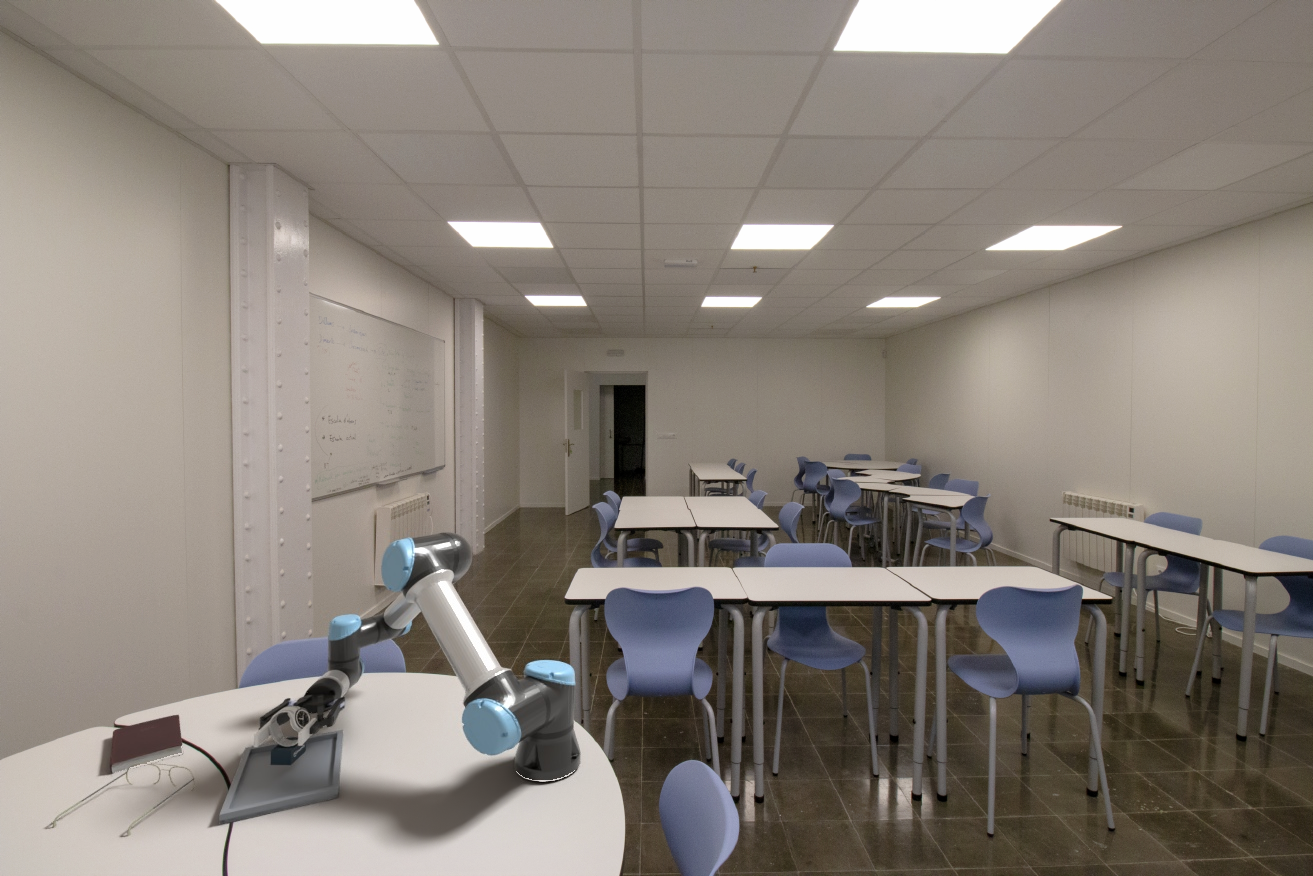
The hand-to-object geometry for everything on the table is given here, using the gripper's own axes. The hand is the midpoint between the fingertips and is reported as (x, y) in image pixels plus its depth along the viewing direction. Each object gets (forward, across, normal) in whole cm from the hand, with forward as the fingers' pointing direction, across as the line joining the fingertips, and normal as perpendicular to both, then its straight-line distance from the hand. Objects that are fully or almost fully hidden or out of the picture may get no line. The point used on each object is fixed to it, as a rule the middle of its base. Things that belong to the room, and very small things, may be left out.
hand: (278, 740), depth 121 cm
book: (-20, +39, -12) cm, 45 cm away
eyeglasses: (+4, +26, -11) cm, 28 cm away
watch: (-5, 0, -7) cm, 8 cm away
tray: (-5, 0, -10) cm, 11 cm away
